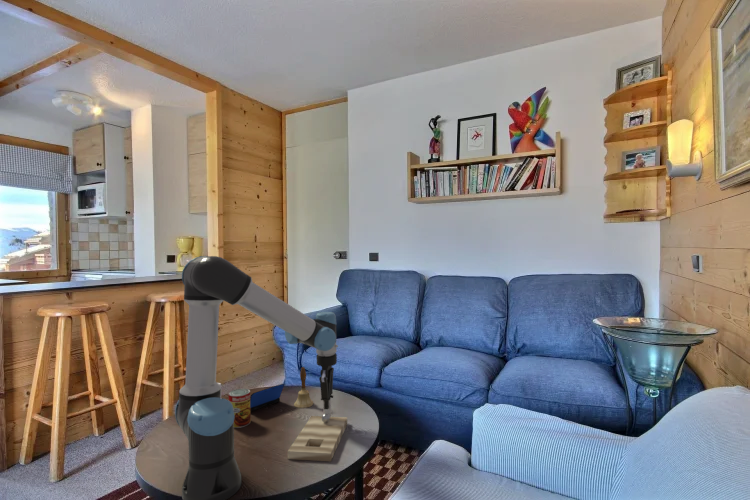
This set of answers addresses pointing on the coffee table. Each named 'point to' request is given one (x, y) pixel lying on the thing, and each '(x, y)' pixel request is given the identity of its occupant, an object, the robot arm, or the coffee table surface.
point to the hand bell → (303, 393)
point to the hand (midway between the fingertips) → (327, 416)
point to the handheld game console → (265, 397)
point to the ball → (325, 418)
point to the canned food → (240, 407)
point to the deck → (318, 439)
